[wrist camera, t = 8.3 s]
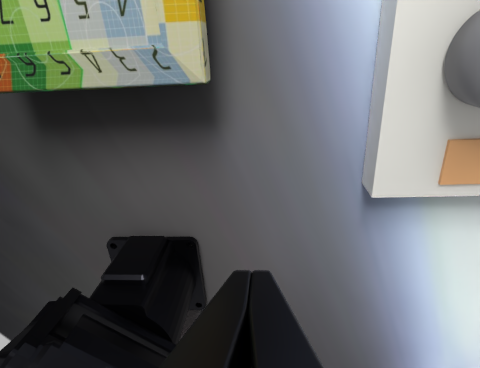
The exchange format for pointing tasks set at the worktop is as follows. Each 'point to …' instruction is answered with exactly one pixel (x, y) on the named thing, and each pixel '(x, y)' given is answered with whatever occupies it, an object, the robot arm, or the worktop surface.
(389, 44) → the button board
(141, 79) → the puzzle game
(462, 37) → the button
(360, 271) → the worktop surface
